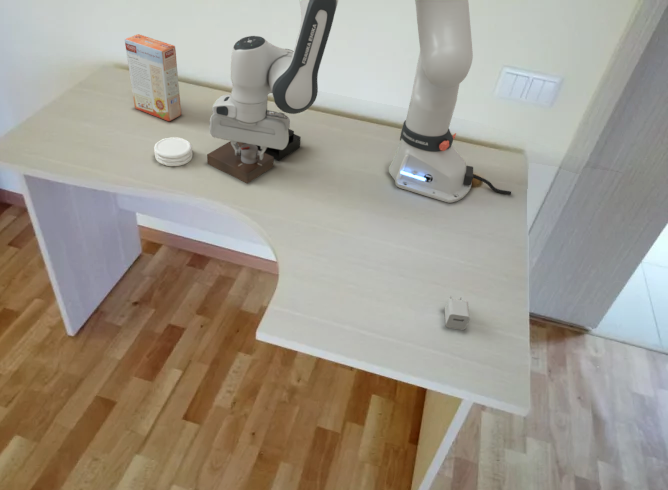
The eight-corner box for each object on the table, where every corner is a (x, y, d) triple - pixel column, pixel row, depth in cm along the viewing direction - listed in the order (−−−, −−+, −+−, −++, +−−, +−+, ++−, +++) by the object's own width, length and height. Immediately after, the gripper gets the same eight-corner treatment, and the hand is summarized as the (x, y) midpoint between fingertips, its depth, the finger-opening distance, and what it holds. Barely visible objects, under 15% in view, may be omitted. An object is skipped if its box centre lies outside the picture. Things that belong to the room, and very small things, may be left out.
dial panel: (274, 167, 145) (274, 156, 143) (248, 184, 139) (248, 173, 136) (234, 148, 151) (234, 138, 149) (207, 164, 144) (206, 153, 142)
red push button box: (299, 147, 153) (301, 130, 150) (278, 161, 147) (279, 143, 144) (259, 130, 159) (259, 112, 155) (237, 142, 153) (237, 125, 149)
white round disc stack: (199, 153, 148) (199, 142, 145) (179, 171, 141) (178, 159, 138) (169, 144, 150) (167, 132, 148) (147, 160, 144) (146, 149, 141)
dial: (253, 153, 144) (253, 141, 141) (260, 162, 141) (260, 149, 138) (238, 157, 142) (238, 144, 139) (245, 165, 139) (245, 152, 137)
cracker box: (182, 115, 163) (176, 45, 148) (169, 122, 159) (161, 51, 144) (148, 101, 168) (138, 32, 153) (134, 108, 164) (123, 38, 149)
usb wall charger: (444, 327, 107) (450, 313, 104) (443, 302, 112) (448, 289, 109) (464, 330, 107) (470, 316, 104) (462, 305, 112) (468, 292, 109)
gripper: (293, 108, 132) (290, 157, 142) (214, 95, 135) (216, 144, 144) (287, 120, 128) (284, 170, 137) (205, 106, 130) (208, 155, 140)
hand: (249, 156), depth 141 cm, fingers closed on dial, 4 cm apart
